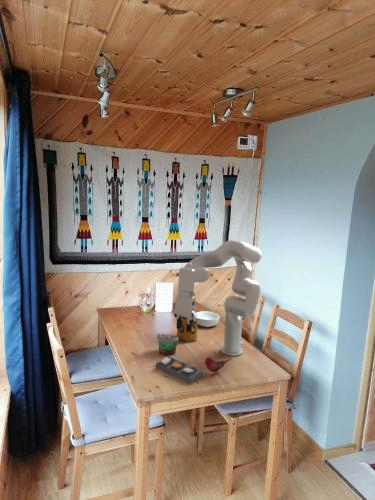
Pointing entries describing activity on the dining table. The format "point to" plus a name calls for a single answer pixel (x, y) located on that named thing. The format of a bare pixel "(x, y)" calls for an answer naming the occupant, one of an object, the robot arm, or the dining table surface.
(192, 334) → the coffee package
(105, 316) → the dining table surface
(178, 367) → the middle rocker
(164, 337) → the food container
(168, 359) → the rocker
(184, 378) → the rocker switch panel
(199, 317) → the cereal bowl
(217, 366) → the decorative bird figurine
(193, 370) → the rocker
